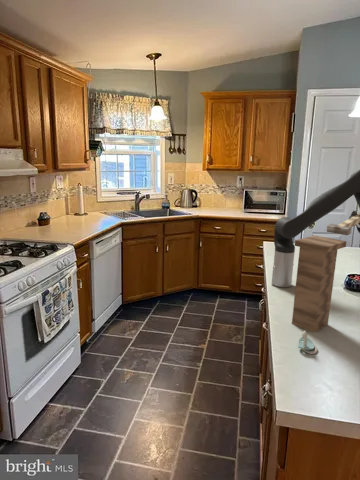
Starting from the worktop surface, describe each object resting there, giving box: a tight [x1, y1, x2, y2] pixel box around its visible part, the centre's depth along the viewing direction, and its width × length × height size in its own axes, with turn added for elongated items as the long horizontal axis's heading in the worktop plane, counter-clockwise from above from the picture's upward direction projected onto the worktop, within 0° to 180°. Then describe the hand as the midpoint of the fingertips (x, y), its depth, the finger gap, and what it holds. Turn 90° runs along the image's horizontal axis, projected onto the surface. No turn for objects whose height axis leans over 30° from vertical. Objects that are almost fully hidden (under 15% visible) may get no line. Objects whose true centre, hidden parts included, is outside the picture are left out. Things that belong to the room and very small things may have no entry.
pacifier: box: [297, 330, 318, 355], centre depth 112 cm, size 7×6×6 cm
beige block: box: [326, 212, 360, 236], centre depth 138 cm, size 24×8×2 cm, turn 131°
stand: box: [291, 235, 347, 333], centre depth 127 cm, size 14×12×32 cm
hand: (357, 213), depth 139 cm, fingers closed on beige block, 2 cm apart
